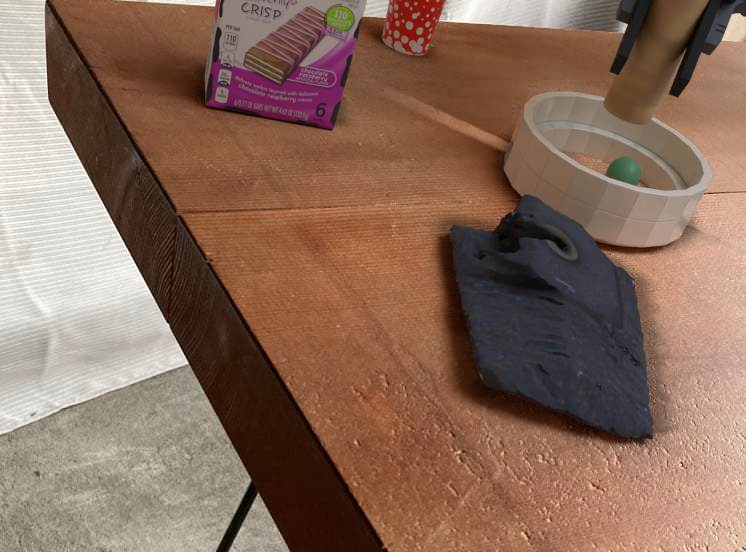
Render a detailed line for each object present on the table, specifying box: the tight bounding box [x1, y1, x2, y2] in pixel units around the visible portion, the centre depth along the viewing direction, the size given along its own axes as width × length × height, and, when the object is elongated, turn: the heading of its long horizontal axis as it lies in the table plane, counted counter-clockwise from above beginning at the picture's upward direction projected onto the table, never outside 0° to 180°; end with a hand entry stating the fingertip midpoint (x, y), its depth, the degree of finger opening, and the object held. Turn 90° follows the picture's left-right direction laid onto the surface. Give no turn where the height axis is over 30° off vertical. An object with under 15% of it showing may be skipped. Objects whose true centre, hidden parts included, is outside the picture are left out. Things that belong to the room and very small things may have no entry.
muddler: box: [603, 0, 710, 125], centre depth 73 cm, size 4×4×13 cm
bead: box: [605, 157, 641, 187], centre depth 85 cm, size 3×3×3 cm
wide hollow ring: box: [503, 90, 713, 248], centre depth 84 cm, size 17×17×6 cm
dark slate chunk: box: [449, 194, 654, 440], centre depth 68 cm, size 15×22×5 cm
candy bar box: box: [204, 0, 368, 130], centre depth 77 cm, size 11×5×16 cm, turn 97°
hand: (649, 75), depth 72 cm, fingers closed on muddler, 4 cm apart
